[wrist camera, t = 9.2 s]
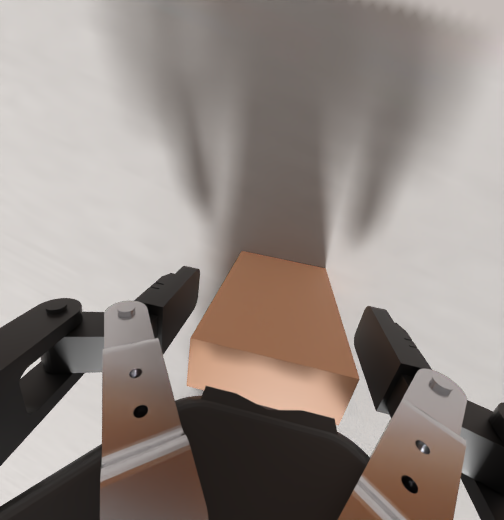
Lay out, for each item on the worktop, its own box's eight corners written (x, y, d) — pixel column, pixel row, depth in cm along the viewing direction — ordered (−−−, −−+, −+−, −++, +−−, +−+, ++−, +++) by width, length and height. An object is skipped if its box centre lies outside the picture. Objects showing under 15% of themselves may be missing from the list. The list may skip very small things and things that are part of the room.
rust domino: (325, 268, 14) (359, 378, 7) (316, 297, 15) (338, 425, 8) (241, 250, 15) (190, 337, 7) (237, 280, 16) (186, 385, 8)
